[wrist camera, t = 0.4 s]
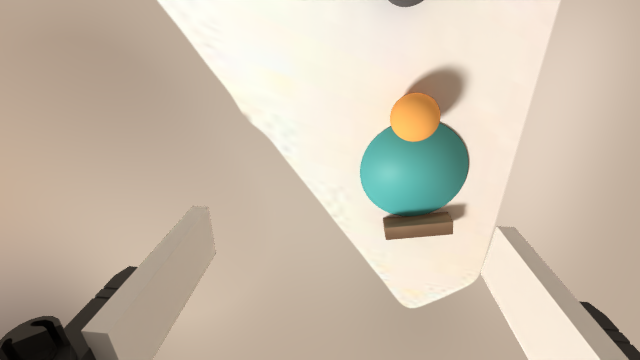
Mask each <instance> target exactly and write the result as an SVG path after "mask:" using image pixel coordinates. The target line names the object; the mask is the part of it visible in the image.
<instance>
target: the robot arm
mask: <svg viewBox="0 0 640 360" xmlns="http://www.w3.org/2000/svg"><path fill="white" fill-rule="evenodd" d="M215 254H216V250H215V244H214V238H213V232H212V225H211V219H210V213H209V207H201V206H192V207H191V208H190V210H189V211H188V212H187V213H186V214H185V215H184V216H183V217H182V219H181V220H180V221H179V222H178V223H177V224H176V225H175V226H174V228H173V229H172V230H171V231H170V232H169V233H168V234H167V235H166V236H165V238H164V239H163V240H162V241H161V242H160V243H159V244H158V245H157V247H156V248H155V249H154V250H153V251H152V252H151V253H150V254H149V255H148V257H147V258H146V259H145V260H144V261H143V262H142V263H141V264H140V265H139V267H131V266H129V267H127V268H126V269H124V270H123V271H121V272H120V273H118V274H116V275H115V276H114V277H113V278H112V279H111V280H110V281H109V282H108V283H107V284H106V285H105V286H104V289H101V290H100V291H99V293H97V294H96V296H95V298H94V299H92V300H91V301H90V302H89V303H88V304H87V305H86V306H85V307H84V308H83V309H82V310H81V311H80V312H79V313H78V314H77V315H76V316H75V317H74V318H73V320H72V321H71V322H70V323H69V324H68V325H67V326H66V327H65V328H64V329H63V327H62V325H61V323H60V321H59V319H57V318H55V317H53V316H42V317H38V318H35V319H31V320H29V321H27V322H25V323H22V324H20V325H18V326H17V327H16V328H14V329H13V330H11V331H10V332H8V333H7V334H6V335H5V336H4V337H3V338H2V339H1V340H0V360H153V358H154V356H155V355H156V353H157V351H158V350H159V348H160V346H161V345H162V343H163V341H164V340H165V338H166V336H167V335H168V333H169V331H170V329H171V328H172V326H173V324H174V323H175V321H176V319H177V318H178V316H179V314H180V313H181V311H182V309H183V307H184V306H185V304H186V303H187V301H188V299H189V298H190V296H191V294H192V293H193V291H194V289H195V288H196V286H197V284H198V283H199V281H200V279H201V278H202V276H203V274H204V273H205V271H206V269H207V268H208V266H209V264H210V262H211V261H212V259H213V257H214V256H215ZM481 275H482V277H483V279H484V281H485V282H486V284H487V286H488V288H489V290H490V291H491V293H492V295H493V297H494V299H495V300H496V302H497V304H498V306H499V308H500V309H501V311H502V313H503V315H504V317H505V318H506V320H507V322H508V324H509V326H510V327H511V329H512V331H513V333H514V335H515V336H516V338H517V340H518V342H519V344H520V345H521V347H522V349H523V350H524V352H525V354H526V356H527V357H528V360H640V352H639V351H638V350H637V349H636V348H635V347H634V346H633V345H631V344H630V341H629V340H628V339H627V338H626V337H625V336H624V335H623V334H622V333H620V332H619V329H618V328H617V327H616V326H615V325H614V324H613V323H612V322H611V321H610V320H609V318H608V317H607V316H606V315H604V314H603V313H602V312H600V311H599V310H598V309H596V308H595V307H594V306H592V305H591V304H590V303H588V302H579V301H578V300H577V299H576V298H575V297H574V296H573V294H572V293H571V292H570V291H569V290H568V289H567V287H566V286H565V285H564V284H563V283H562V282H561V280H560V279H559V278H558V277H557V276H556V275H555V273H553V271H552V270H551V269H550V268H549V266H548V265H547V264H546V263H545V262H544V261H543V260H542V258H541V257H540V256H539V255H538V254H537V253H536V252H535V250H534V249H533V248H532V247H531V246H530V244H529V243H528V242H527V241H526V240H525V239H524V238H523V236H522V235H521V234H520V233H519V232H518V231H517V229H516V228H514V227H501V226H497V228H496V230H495V233H494V236H493V239H492V242H491V245H490V248H489V250H488V253H487V256H486V259H485V262H484V265H483V268H482V271H481Z"/></svg>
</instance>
